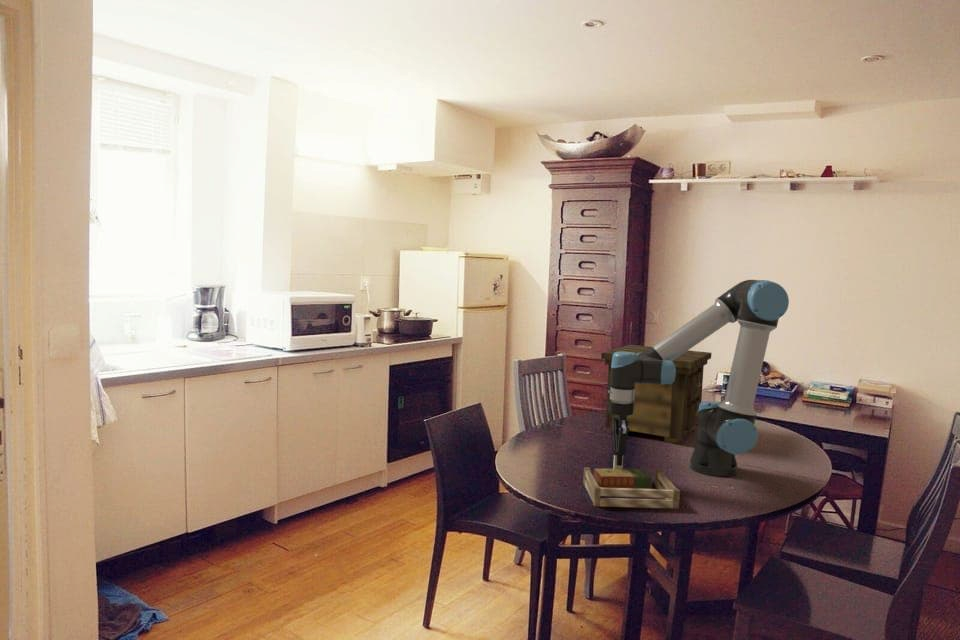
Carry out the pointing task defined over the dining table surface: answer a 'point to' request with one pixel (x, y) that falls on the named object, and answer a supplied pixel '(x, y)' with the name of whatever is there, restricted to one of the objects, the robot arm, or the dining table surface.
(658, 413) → the crate
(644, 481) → the carton
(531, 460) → the dining table surface
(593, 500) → the slatted wooden tray
